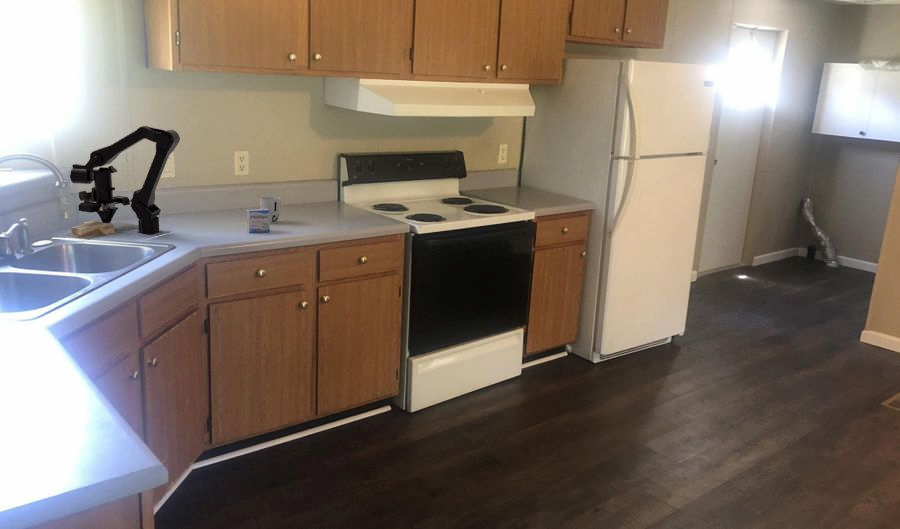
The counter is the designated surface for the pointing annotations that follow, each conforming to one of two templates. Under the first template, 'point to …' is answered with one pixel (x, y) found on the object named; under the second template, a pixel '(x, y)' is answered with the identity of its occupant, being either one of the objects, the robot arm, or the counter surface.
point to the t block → (92, 228)
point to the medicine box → (258, 220)
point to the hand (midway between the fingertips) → (106, 227)
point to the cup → (271, 207)
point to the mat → (117, 228)
